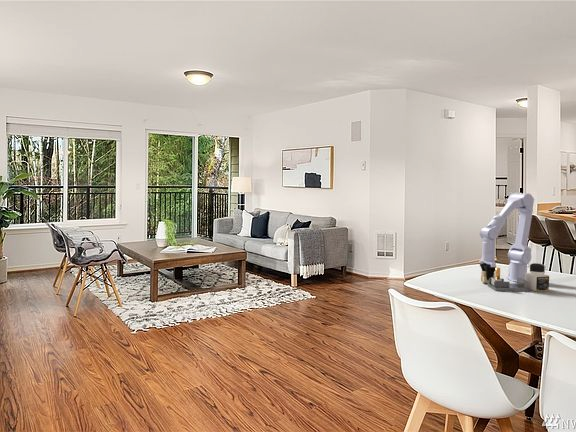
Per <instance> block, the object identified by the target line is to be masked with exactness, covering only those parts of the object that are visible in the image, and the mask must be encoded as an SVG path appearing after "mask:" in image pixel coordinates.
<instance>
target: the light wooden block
mask: <svg viewBox="0 0 576 432" xmlns="http://www.w3.org/2000/svg"><path fill="white" fill-rule="evenodd" d="M493 277H495V272H494V275H493ZM480 282H482V283H484V284H488V283H489V280H487V278H486V271H482V270H481V271H480Z"/></svg>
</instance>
